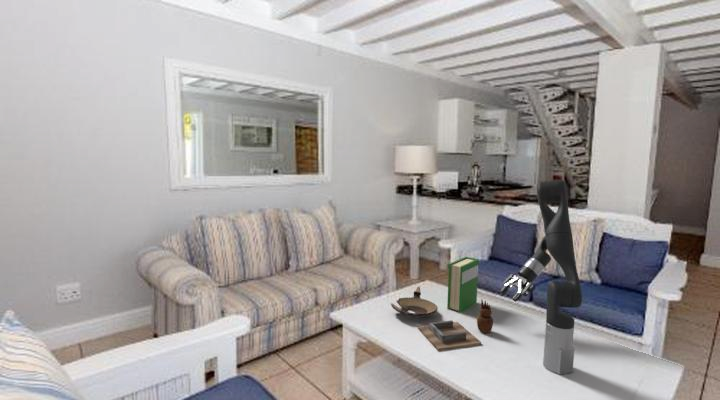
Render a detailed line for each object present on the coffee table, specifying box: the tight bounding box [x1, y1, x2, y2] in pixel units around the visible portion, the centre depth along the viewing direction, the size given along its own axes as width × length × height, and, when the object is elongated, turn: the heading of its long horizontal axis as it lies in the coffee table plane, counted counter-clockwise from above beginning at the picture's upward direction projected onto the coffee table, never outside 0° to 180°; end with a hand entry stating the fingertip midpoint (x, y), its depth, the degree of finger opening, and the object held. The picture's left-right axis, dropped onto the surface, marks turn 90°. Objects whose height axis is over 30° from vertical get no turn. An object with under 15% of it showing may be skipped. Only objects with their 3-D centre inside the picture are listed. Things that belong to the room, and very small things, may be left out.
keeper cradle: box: [417, 319, 482, 352], centre depth 168 cm, size 20×20×4 cm
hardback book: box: [446, 256, 480, 314], centre depth 199 cm, size 18×7×24 cm, turn 137°
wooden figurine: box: [476, 299, 494, 334], centre depth 172 cm, size 7×6×15 cm
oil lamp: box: [390, 286, 438, 318], centre depth 193 cm, size 22×30×8 cm
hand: (507, 296), depth 174 cm, fingers open, 8 cm apart
